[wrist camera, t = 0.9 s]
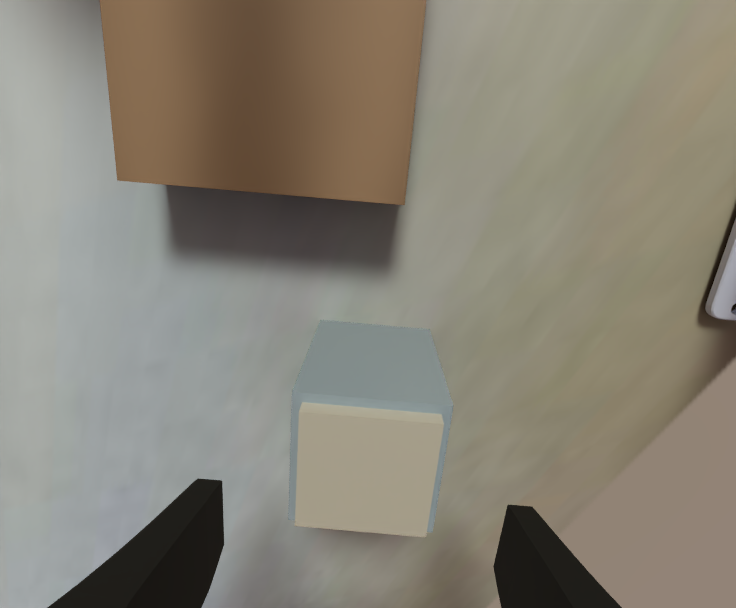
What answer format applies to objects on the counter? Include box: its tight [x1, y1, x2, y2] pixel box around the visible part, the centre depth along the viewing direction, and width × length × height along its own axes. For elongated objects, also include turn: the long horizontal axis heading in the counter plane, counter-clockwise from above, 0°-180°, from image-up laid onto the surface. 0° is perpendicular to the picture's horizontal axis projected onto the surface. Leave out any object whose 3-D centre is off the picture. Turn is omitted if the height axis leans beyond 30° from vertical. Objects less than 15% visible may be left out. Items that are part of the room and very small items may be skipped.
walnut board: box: [100, 0, 426, 205], centre depth 13 cm, size 9×9×3 cm
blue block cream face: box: [288, 320, 453, 537], centre depth 15 cm, size 5×5×6 cm
